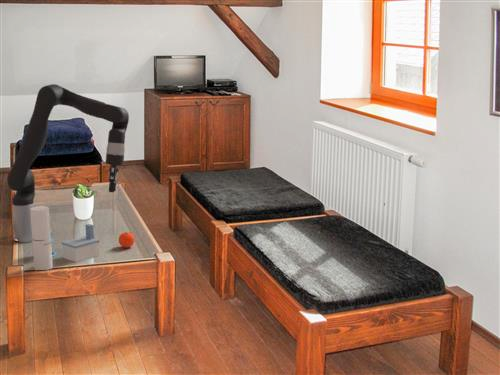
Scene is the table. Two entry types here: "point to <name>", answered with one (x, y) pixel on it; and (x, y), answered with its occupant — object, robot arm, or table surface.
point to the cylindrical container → (41, 238)
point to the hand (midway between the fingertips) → (112, 191)
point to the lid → (83, 238)
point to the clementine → (126, 239)
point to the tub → (81, 252)
